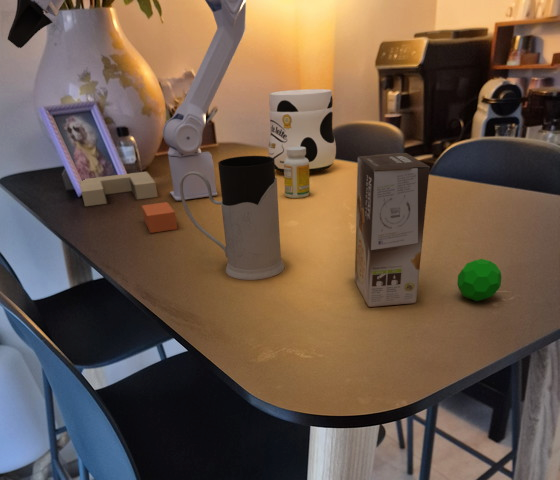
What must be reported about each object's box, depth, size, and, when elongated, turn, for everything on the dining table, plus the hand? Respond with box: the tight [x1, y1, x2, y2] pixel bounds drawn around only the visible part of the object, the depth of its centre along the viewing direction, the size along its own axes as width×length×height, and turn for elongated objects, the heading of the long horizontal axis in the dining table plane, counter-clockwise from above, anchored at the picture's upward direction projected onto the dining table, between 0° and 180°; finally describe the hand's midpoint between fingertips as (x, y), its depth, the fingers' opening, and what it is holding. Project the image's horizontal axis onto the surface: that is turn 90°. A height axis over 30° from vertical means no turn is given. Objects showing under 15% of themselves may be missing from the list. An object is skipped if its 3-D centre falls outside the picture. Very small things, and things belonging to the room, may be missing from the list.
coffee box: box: [354, 152, 431, 308], centre depth 63 cm, size 9×6×16 cm
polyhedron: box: [456, 258, 502, 302], centre depth 62 cm, size 5×5×5 cm
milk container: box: [267, 88, 337, 174], centre depth 129 cm, size 17×17×18 cm
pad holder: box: [79, 171, 158, 208], centre depth 120 cm, size 16×14×3 cm
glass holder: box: [180, 155, 285, 281], centre depth 72 cm, size 9×14×15 cm, turn 80°
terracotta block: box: [141, 201, 178, 234], centre depth 97 cm, size 5×8×3 cm, turn 20°
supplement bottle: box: [283, 146, 310, 199], centre depth 109 cm, size 5×5×10 cm
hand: (13, 43), depth 91 cm, fingers open, 7 cm apart
